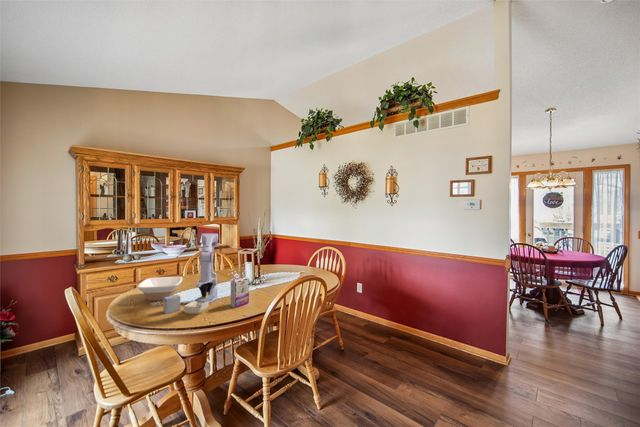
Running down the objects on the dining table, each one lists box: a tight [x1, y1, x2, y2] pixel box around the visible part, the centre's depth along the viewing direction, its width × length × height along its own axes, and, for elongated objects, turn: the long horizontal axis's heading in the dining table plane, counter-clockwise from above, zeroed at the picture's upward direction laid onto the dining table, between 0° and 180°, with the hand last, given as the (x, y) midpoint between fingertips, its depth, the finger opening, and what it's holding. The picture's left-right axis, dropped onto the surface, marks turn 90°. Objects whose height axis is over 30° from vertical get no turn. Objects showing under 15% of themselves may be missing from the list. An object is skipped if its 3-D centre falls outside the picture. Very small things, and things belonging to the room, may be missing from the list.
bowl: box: [137, 276, 183, 302], centre depth 183 cm, size 24×25×11 cm
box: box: [183, 300, 210, 315], centre depth 164 cm, size 12×8×4 cm, turn 167°
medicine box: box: [162, 294, 181, 315], centre depth 160 cm, size 8×4×9 cm, turn 141°
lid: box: [194, 292, 215, 303], centre depth 159 cm, size 10×6×4 cm, turn 168°
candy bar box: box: [230, 276, 250, 309], centre depth 174 cm, size 11×5×16 cm, turn 149°
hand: (205, 296), depth 159 cm, fingers closed on lid, 2 cm apart
